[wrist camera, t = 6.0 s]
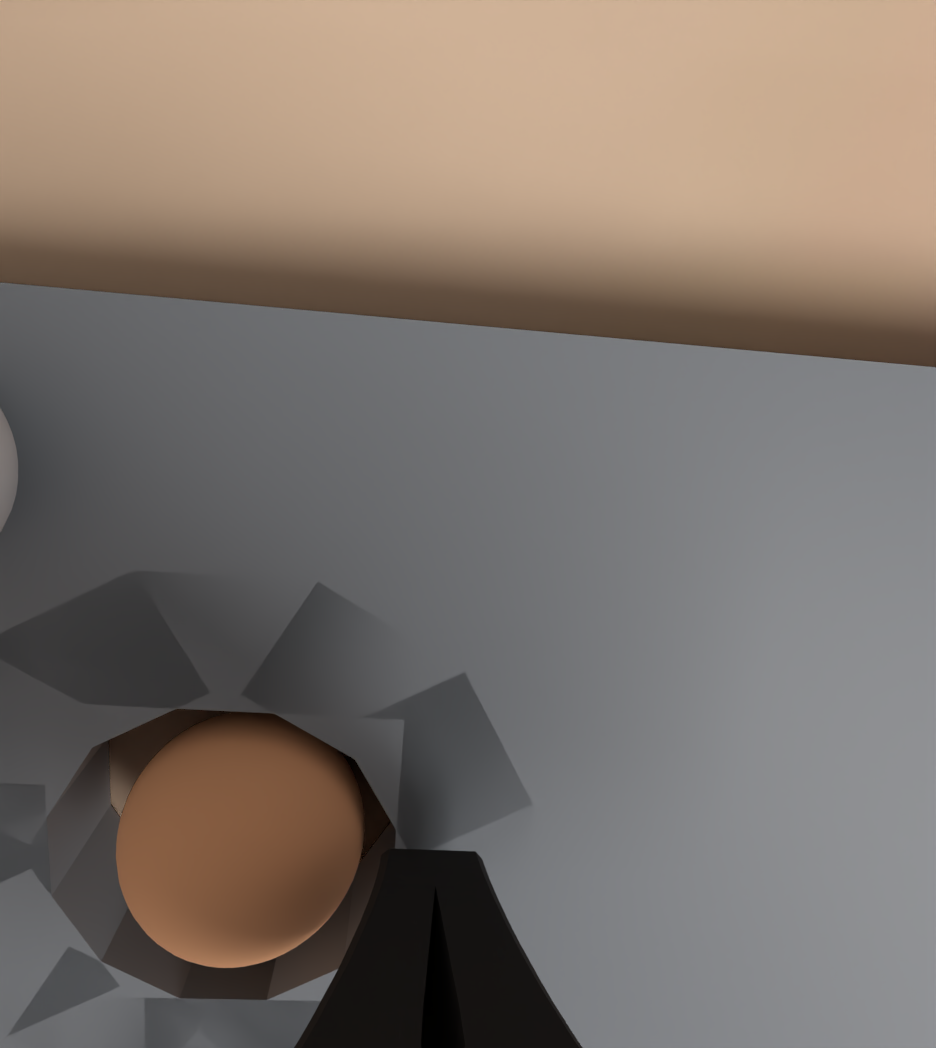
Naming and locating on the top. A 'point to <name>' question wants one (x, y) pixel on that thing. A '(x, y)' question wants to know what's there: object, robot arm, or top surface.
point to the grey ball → (7, 470)
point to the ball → (239, 840)
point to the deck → (482, 655)
